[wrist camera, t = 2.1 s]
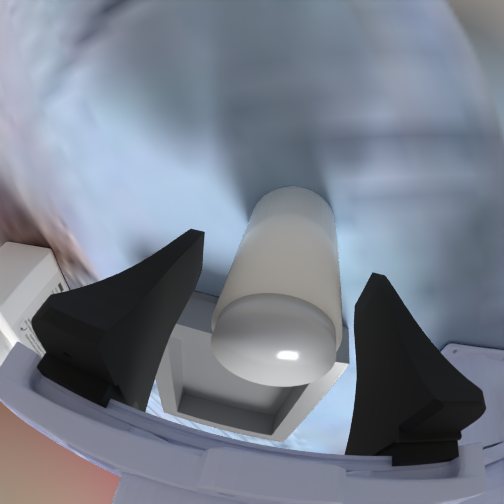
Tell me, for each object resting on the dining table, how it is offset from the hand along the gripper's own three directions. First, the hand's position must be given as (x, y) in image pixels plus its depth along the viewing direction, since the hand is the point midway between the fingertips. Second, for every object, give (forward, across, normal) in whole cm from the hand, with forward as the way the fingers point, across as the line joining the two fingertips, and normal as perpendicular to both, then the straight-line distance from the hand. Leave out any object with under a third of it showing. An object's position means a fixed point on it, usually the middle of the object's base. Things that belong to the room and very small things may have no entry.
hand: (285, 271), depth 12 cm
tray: (+4, +1, +15) cm, 15 cm away
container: (+4, +21, +11) cm, 24 cm away
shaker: (+4, 0, 0) cm, 4 cm away
